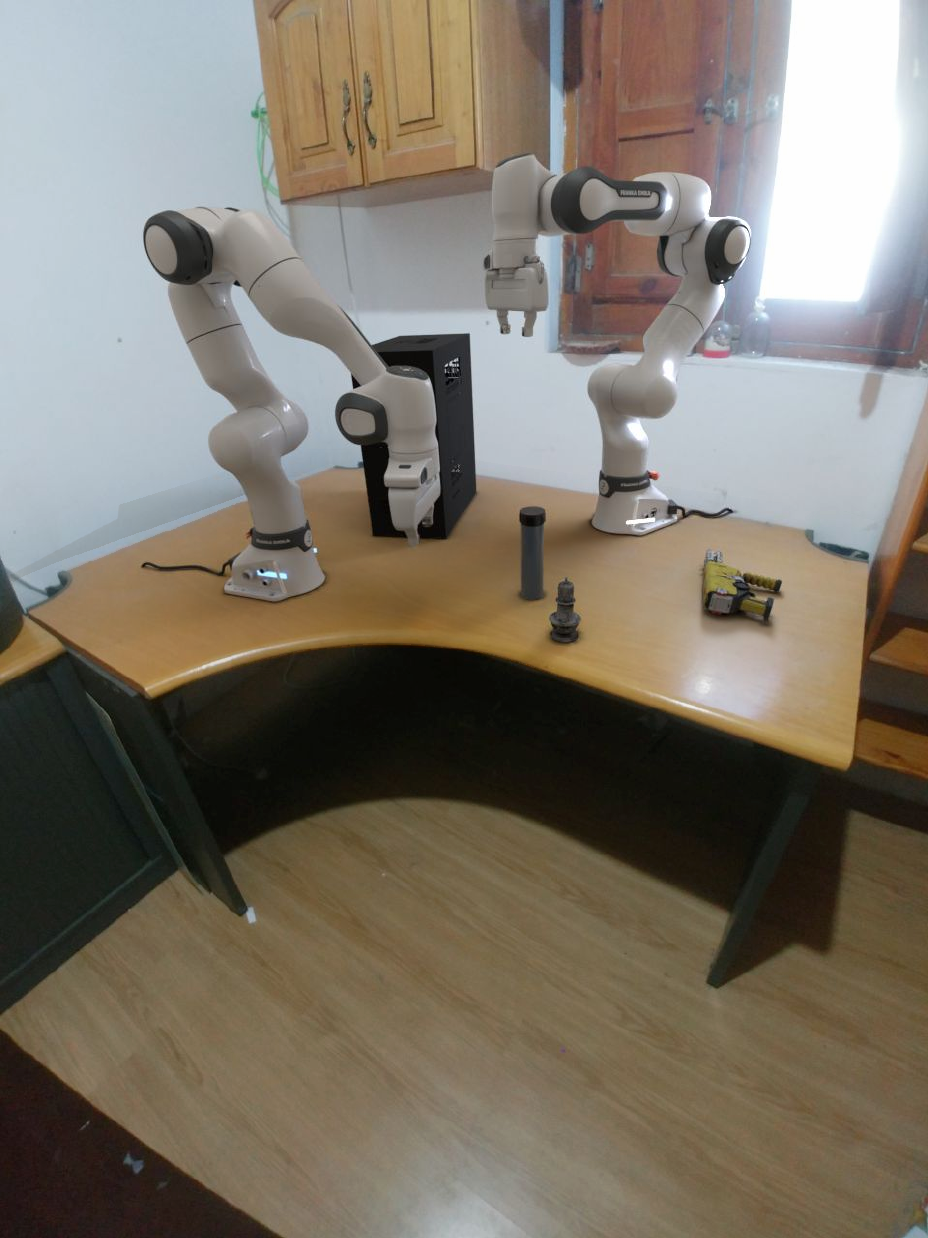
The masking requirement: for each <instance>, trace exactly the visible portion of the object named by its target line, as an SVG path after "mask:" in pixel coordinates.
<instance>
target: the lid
mask: <svg viewBox="0 0 928 1238" xmlns="http://www.w3.org/2000/svg"><path fill="white" fill-rule="evenodd" d="M546 515H547V513H546V509H545V508H544V507H542V506H537V505H533V506H531V505H530V506H525V507H521V508H520V509H519V514H518V518H519V519H518V522H519V523H520V525H521V524H523V525H526V526H538V525H542V524H544V525H545V523H546V521H547V519H546V518H547V517H546Z"/></svg>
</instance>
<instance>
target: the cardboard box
mask: <svg viewBox="0 0 928 1238" xmlns="http://www.w3.org/2000/svg"><path fill="white" fill-rule="evenodd" d="M371 345H372V346H373V348H374V349H375V350H376V351H377V353H378V354H379V355H380V357H381V358H382V359H383V360H384V362H385V363H386V364H387V365H388V367H391V366H411V367H415V368H418V369H421V370H422V371H424V372H425V373H426V374H427V375H428V376H429V378H430V381H431V384H432V388H433V393H434V400H435V409H436V426H435V435H436V439H437V442H438V450H439V464H440V472H439V478H440V496H439V497H438V498H437V500H436V501H435V502H434V509H433V524H432V525H431V526H430V527H424V526H423V525H422V520H421V521H420V523H419V524H418V525H417V527H418V528H417V533H418V535H419V537H420V538H423V539H424V538H425V539H443V540H444V539H445V540H446V539H447V538H448V537H449V535H450V533H451V532H452V530H453V529H454V528H455V526H456V524H457V523H458V521H459V520H460V518H461V517H462V515H463V514H464V512H465V511H466V509H467V507H468V506H469V505H470V503H471V502H472V500H473V498H474V497H475V495H476V494H477V471H476V470H477V469H476V448H475V446H476V445H475V426H474V424H475V423H474V422H475V421H474V401H473V377H472V355H471V352H472V351H471V334H470V333H469V332H467V333H440V334H439V333H437V334H413V335H412V334H410V335H398V336H395V337H392V338H389V339H385V340H383V341H380V342H377V343H373V344H371ZM450 364H451V365H450ZM350 377H351V378H350V379H351V385H352V390H353V389H355V388H358V387H360V386H361V385H360V384H359V382H358V381H357V380H356V379H355V377H354V376H353V375H352V374H351V373H350ZM360 450H361V451H360V452H361V458H362V465H363V473H364V482H365V487H366V495H367V502H368V509H369V518H370V524H371V525H370V526H371V532H372V536H377V537H378V536H379V537H398V538H399V537H400V538H408V537H407V535H406V533H405V531H399V530H396V529H395V527H394V525H393V522H392V517H391V511H390V505H389V496H388V493H389V488H390V487H386V486H385V483H384V475H385V472H386V470H387V467H388V464H389V458H390V456H389V447H388V444H387V443H385V442H379V443H375V444H370V445H360Z"/></svg>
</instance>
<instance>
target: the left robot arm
mask: <svg viewBox="0 0 928 1238" xmlns="http://www.w3.org/2000/svg"><path fill="white" fill-rule="evenodd" d="M142 239H143V240H142V241H143V247H144V252H145V255H146V257H147V259H148V261H149V264H150V265H151V266H152V268H153V270H154V271H155V272H156V273H157V274H158V276H159V277H161V278H162V279H163V280H165V281H166V282H168V285H167V296H168V299H169V302H170V306H171V309H172V312H173V315H174V318H175V320H176V323H177V326H178V328H179V331H180V334H181V336H182V338H183V340H184V342H185V343H186V346H187V348H188V350H189V353H190V354H191V356H192V358H193V361H194V363H195V365H196V367H197V368H198V371H199V373H200V375H201V377H202V379H203V381H204V383H205V385H206V386H208V388H209V389H211V390H212V391H214V392H216V393H218V394H220V395H222V396H223V397H224V398H225V399H226V400H227V401H228V402H229V403H230V404H231V406H232V407H233V408H234V409H235V411H236V412H233V413H231V414H228V415H226V416H225V417H224V418H222V419H221V420H220V421H219V422H217V423H216V424H215V425H214V426H213V427H212V428H211V429H210V431H209V433H208V436H207V444H208V449H209V452H210V454H211V456H212V459H213V460H214V461H215V463H217V465H218V466H220V467H221V468H222V469H223V470H225V471H227V472H229V473H230V474H232V475H233V476H234V477H235V479H236V480H237V482H238V483H239V485H240V486H241V489H242V490H243V492H244V494H245V497H246V499H247V503H248V506H249V510H250V514H251V517H252V522H253V526H252V527H251V528H249V531H247V532H246V533H245V534H244V536H246V537H245V540H248V539H249V538H251V540H250V543H249V544H248V545H247V546H246V547H245V548H244V549H243V550H242V551H240V552H239V553H237V554H235V555H233V556H232V557H230V558H229V559H227V561H226V562H224V563H223V564H222V566H221V571H220V572H219V571H218V572H216V571H215V570H212V569H210V568H208V567H206V566H203V565H197V564H185V565H173V566H171V565H170V566H162V565H161V566H160V565H158V564H155V563H153V562H149V561H145V562H143V563H142V564H141V566H140V568H145V567H146V566H150V567H152V568H155V569H158V570H164V571H167V570H168V571H169V570H184V569H200V570H202V571H205V572H208V573H210V574H212V575H216V576H222V575H224V574H225V573H226V568H227V567H228V566H229V569H230V572H231V577H230V578H228V580H227V581H226V582H225V584H224V587H223V588H224V593H225V594H229V595H234V596H240V597H244V598H249V599H257V600H262V601H268V602H274V603H275V602H280V601H283V600H286V599H288V598H290V597H294V596H300V595H303V594H306V593H309V592H311V591H313V590H315V589H317V588H319V587H320V586H321V585H322V584H323V583H324V582H325V579H326V575H325V574H324V572H323V570H322V568H321V566H320V564H319V562H318V561H319V560H318V559H317V556H316V553H318V549H317V547H314V546H313V545H314V544H313V543H314V541H313V535H312V530H311V526H310V521H309V519H307V514H306V509H305V506H304V505H305V503H304V500H303V496H302V490H301V487H300V485H299V484H298V483H297V482H296V481H294V480H293V479H290V478H289V476H288V474H287V473H286V471H285V469H284V467H283V464H282V457H284V456H286V455H288V454H290V453H292V452H294V451H296V449H298V447H299V446H301V444H302V443H303V442H304V441H305V439H306V438H307V436H308V433H309V420H308V417H307V414H306V413H305V412H304V410H303V409H302V408H301V407H300V405H298V404H297V403H296V402H294V401H292V400H291V399H289V398H288V397H286V396H285V394H283V392H282V391H281V390H280V389H279V388H278V386H277V385H276V384H275V383H274V381H273V380H272V378H271V377H270V376H269V374H268V373H267V372H266V370H265V368H264V366H263V365H262V363H261V362H260V359H259V358H258V355H257V352H256V351H255V349H254V347H253V344H252V343H251V340H250V338H249V336H248V334H247V332H246V330H245V327H244V325H243V322H242V320H241V318H240V316H239V314H238V313H237V310H236V308H235V305H234V303H233V300H232V289H233V286H236V287H238V288H242V289H243V291H244V293H245V294H246V296H247V297H248V299H249V300H250V302H251V303H252V305H253V306H254V307H255V309H256V310H257V312H258V313H259V315H260V316H261V317H262V318H263V320H265V322H266V323H268V325H270V327H271V328H273V329H274V330H275V331H276V332H277V333H280V334H282V335H284V336H288V337H290V338H295V339H300V340H305V341H308V342H311V343H314V344H318V345H320V346H322V347H324V348H326V349H328V350H329V351H330V352H332V353H333V354H334V355H335V356H336V357H337V358H338V359H339V360H340V361H341V363H342V364H343V365H344V367H345V368H346V369H347V370H348V371H349V373H350V375H351V374H352V375H353V376H354V377H355V379H356V380H357V381H358V382H359V384H360V385H361V386H360V387H358V388H355V389H353V388H352V389H351V390H349V391H347V392H345V393H344V394H342V395H341V396H340V397H339V398H338V400H337V401H336V404H335V408H334V418H335V422H336V426H337V429H338V430H339V432H340V433H341V435H342V436H343V437H344V438H345V439H346V440H347V441H348V442H350V443H351V444H353V445H356V446H361V445H370V444H375V443H379V442H385V443H387V444H388V447H389V456H390V458H389V464H388V467H387V470H386V472H385V475H384V483H385V486H386V487H390V488H389V493H388V496H389V505H390V511H391V517H392V522H393V525H394V527H395V529H396V530H399V531H405V533H406V535H407V537H406V538H407V542H408V545H409V546H410V547H418V545H419V544H420V543H421V540H420V538H421V537H419V535H418V533H417V528H418V527H417V525H418V524H419V523H420V521H421V520H422V525H423V526H424V527H430V526H431V525H432V524H433V509H434V502H435V501H436V500H437V498H438V497H439V496H440V478H439V472H440V464H439V450H438V442H437V439H436V435H435V426H436V409H435V400H434V393H433V388H432V384H431V381H430V378H429V376H428V375H427V374H426V373H425V372H424V371H422V370H421V369H418V368H415V367H411V366H391V367H388V365H387V364H386V363H385V362H384V360H383V359H382V358H381V357H380V355H379V354H378V353H377V351H376V350H375V349H374V348H373V346H372V345H373V344H371V342H370V341H369V339H367V337H366V336H365V335H364V333H363V332H362V331H361V329H360V328H359V327H358V325H356V323H355V321H353V319H351V317H350V315H348V314H347V313H346V312H345V310H344V309H343V308H342V307H341V306H340V305H338V303H337V302H336V301H335V300H334V299H333V298H332V297H331V296H330V295H329V293H327V292H326V290H325V289H324V288H323V286H322V285H321V284H320V283H319V281H318V280H317V279H316V277H315V276H314V275H313V273H312V272H311V271H310V270H309V268H308V266H307V265H306V264H305V262H304V261H303V259H302V258H301V256H300V254H299V253H298V252H297V250H296V249H295V248H294V246H293V245H292V244H291V243H290V241H289V240H288V239H287V238H286V236H285V235H284V234H283V232H282V231H280V229H279V228H278V227H277V226H276V224H275V223H274V222H273V221H271V219H270V218H269V217H268V216H267V215H265V213H263V212H261V211H260V210H257V209H253V208H244V209H239V208H235V207H215V206H196V207H194V208H192V207H191V208H185V209H180V210H171V209H169V210H168V209H167V210H163V211H160V212H158V213H155V214H153V215H151V216H150V217H148V219H147V220H146V222H145V224H144V227H143V231H142Z"/></svg>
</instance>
